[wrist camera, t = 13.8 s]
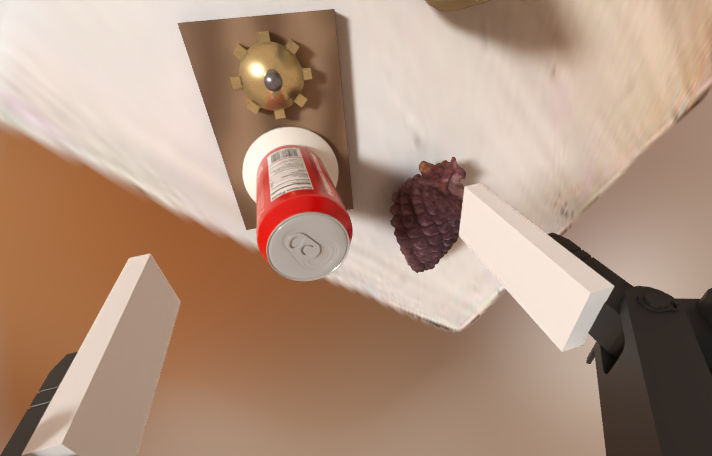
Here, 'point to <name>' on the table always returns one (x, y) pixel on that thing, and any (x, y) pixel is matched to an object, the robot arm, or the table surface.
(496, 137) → the table surface
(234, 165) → the gear board
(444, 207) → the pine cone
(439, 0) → the squeeze bottle
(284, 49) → the brass gear
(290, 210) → the soda can
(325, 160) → the ceramic plate
